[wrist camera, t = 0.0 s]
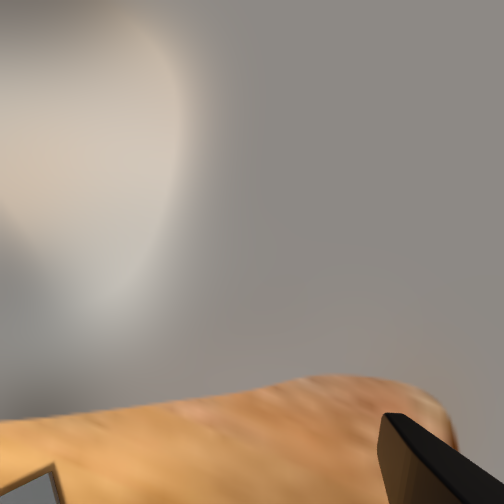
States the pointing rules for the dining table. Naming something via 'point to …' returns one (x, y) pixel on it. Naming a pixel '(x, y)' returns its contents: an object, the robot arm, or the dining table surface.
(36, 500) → the mat
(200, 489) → the dining table surface
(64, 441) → the dining table surface
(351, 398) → the dining table surface
